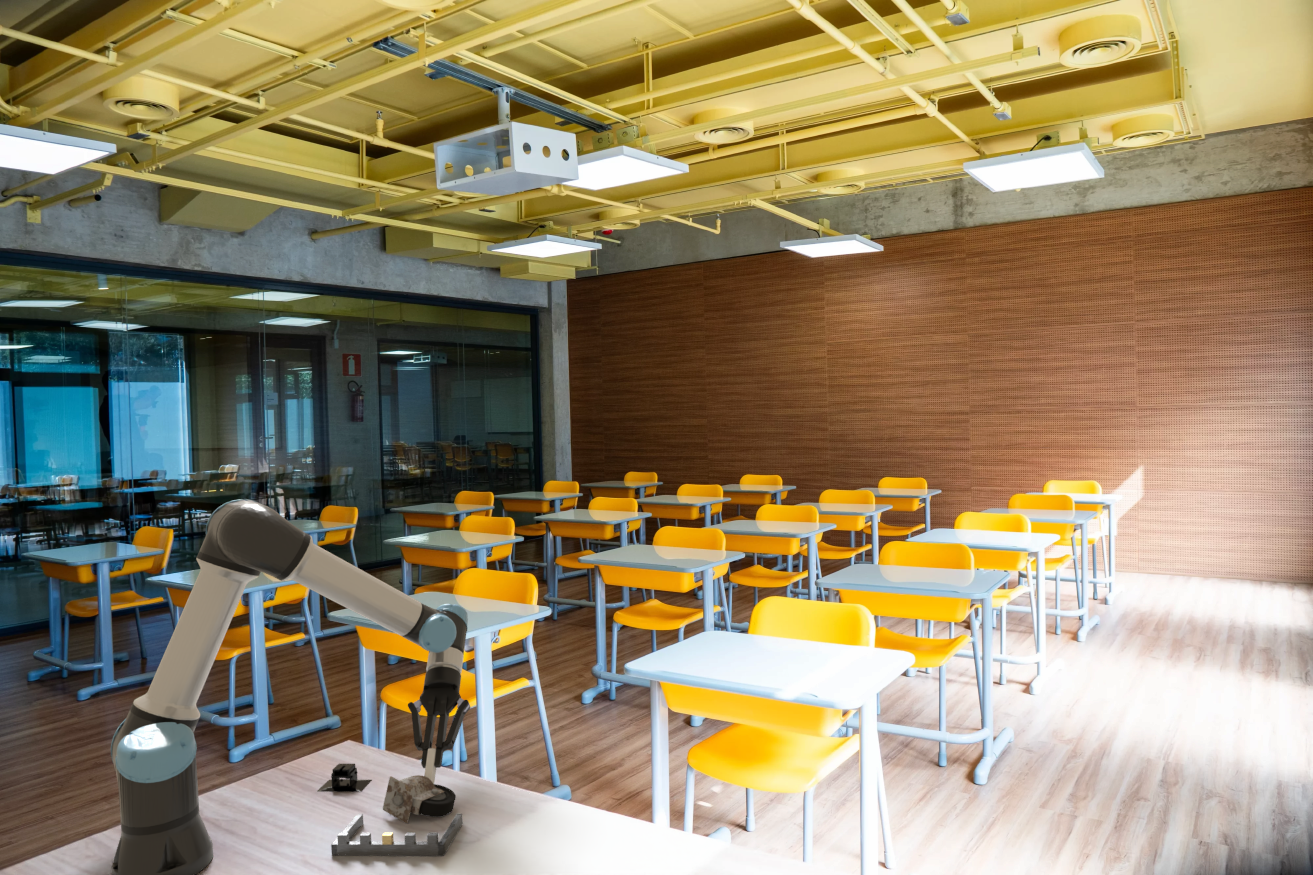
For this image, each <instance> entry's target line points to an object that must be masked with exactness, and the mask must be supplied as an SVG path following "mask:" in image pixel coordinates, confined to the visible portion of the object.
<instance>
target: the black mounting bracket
mask: <svg viewBox="0 0 1313 875" xmlns="http://www.w3.org/2000/svg"><path fill="white" fill-rule="evenodd" d="M357 768H358V767H356V763H338V764H336V766H335V767H333V769H332V772H331V776H330V778H331V779H328V780H327V781H326V782H325V783H324V784H323V785H322V786H320V788H318V790H316V792H324V793H325V792H326V793H327V792H328V793H332V792H334V793H335V792H336V793H351V792H352V793H361V792H363V791H364V790H365V789H366V787H368V786H369V784H370V783H371V782H372V781H373V779H358V769H357Z"/></svg>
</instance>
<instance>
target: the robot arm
mask: <svg viewBox="0 0 1313 875" xmlns="http://www.w3.org/2000/svg"><path fill="white" fill-rule="evenodd" d="M195 560H196V561H197V563H198V565H199V568H200V570H199V573H198V575H197V577H196V580H195V582H194V585H193V587H192V589H191V592H190V594H189V596H188V598H187V601H186V603H185V605H184V608H183V610H182V612H181V615H180V616H179V618H178V621H177V624H176V625H175V629H174V631H173V633H172V635H171V638H170V640H169V642H168V644H167V647H166V649H165V651H164V653H163V656H162V658H161V660H160V663H159V665H158V667H157V669H156V672H155V674H154V676H153V679H152V680H151V684H150V685H149V688H148V691H147V692H145V694H143V695H140V696H139V697H136V698H135V699H134V700H133V702H132V704H131V707H130V709H129V711H128V713H127V715H126V718H125V719H124V720H123V721H122V722H121V723H120V724H119V725H118V726H117V729H116V730H115V732H114V734H113V736H112V741H111V743H110V744H111V745H110V756H111V760H112V764H113V765H114V766H113V768H114V772H115V775H116V780H117V787H118V800H119V804H118V805H119V816H120V830H121V832H120V837H119V840H118V844H117V847H116V852H115V854H114V856H113V857H114V858H113V861H112V864H111V870H110V871H111V872H110V873H111V875H197V874H199V872H201V871H202V870H203V869H205V868H206V867H207V866H208V865H209V864H210V863H211V862H212V860H213V857H214V846H213V845H214V844H213V840H212V838H211V836H210V835H209V833H208V830H207V827H206V826H205V823H204V820H203V818H202V816H201V814H200V804H199V802H200V800H199V786H198V769H197V751H198V749H197V748H198V747H197V746H198V745H197V741H196V739H195V730H196V727H197V724H198V723H199V720H200V717H201V712H200V710H199V709H198V706H197V703H198V700H199V698H200V696H201V693H202V690H203V689H204V687H205V684H206V681H207V679H208V677H209V674H210V672H211V669H212V667H213V665H214V663H215V660H216V657H217V655H218V653H219V650H220V648H221V646H222V644H223V641H224V639H225V636H226V633H227V632H228V629H229V627H230V624H231V622H232V620H233V618H234V615H235V613H236V610H237V608H238V606H239V603H240V601H241V598H242V595H243V594H244V592H245V589H246V586H247V585H248V583H250V582H252V581H254V580H256V579H257V578H259V577H260V575H261V573H262V574H263V573H264V574H266V575H269V576H270V577H273V578H275V579H277V580H279V581H281V582H285V581H288V580H289V581H290V580H291V581H294V582H295V583H297V584H299V585H300V586H303V587H305V588H306V589H309V590H311V591H313V592H315V593H317V594H319V595H320V596H323V598H327V599H328V600H331V601H332V602H334V603H336V604H338V605H340V606H342V607H344V608H346V609H348V610H350V611H352V612H353V613H356V614H358V615H360V616H362V617H364V618H366V619H368V620H369V621H371V622H373V623H376V624H377V625H379V626H380V627H382V628H383V629H385V630H388V631H390V632H391V633H394V634H397V635H399V636H401V637H402V638H404V639H406V640H408V641H409V642H412V643H413V644H415V645H417V646H419V647H421V648H422V649H423V650H425V651H427V652H428V656H427V661H426V662H427V663H426V669H425V670H426V673H425V675H424V676H425V677H424V683H423V689H422V690H423V691H422V693H420V696H419V699H418V700H415V701H414V702H412V701H409V703H408V704H407V707H408V709H409V711H410V713H411V720H412V721H411V722H412V732H413V741H414V742H413V743H414V746H415V748H416V750H417V751H421V752H422V753H421V754H422V756H421V761H420V764H421V767H422V769H425V770H424V775H423V776H425V777H427V778H429V779H430V780H431V781H432V782H433V784H435V780H436V775H437V774H436V773H437V769H438V768H439V769H440V768H441V767H442V764H443V758H444V757H443V756H444V752H445V751H447V750H452V749H453V748H454V745H455V743H456V740H457V737H458V734H459V733H460V732H459V731H460V729H461V726H462V724H463V721H464V718H465V715H466V714H467V713H468V712H469V711H470V709H471V705H470V702H469V700H468V699H463V698H462V696H461V694H460V690H461V689H460V688H461V682H462V681H461V680H462V673H463V672H462V671H463V663H464V653H465V646H466V639H467V633H468V620H469V618H468V612H467V610H466V609H465V608H464V607H463V606H462V605H459V604H455V603H454V604H451V603H443V604H441V605H439V606H437V607H436V608H433V607H430V606H428V605H426V604H424V603H423V602H420V601H419V600H417V599H415V598H413V597H412V596H410V595H408V594H406V593H405V592H402V591H400V590H399V589H397V588H395V587H394V586H391V585H390V584H388V583H386V582H384V581H382V580H380V579H379V578H377V577H375V576H374V575H371V574H370V573H368V572H366V571H364V570H363V569H360V568H359V567H357V566H356V565H354V564H351V563H350V562H349V561H348V562H347V561H346V560H344V559H343V558H341V557H339V556H337V555H335V554H334V553H332V552H329V551H328V550H327V549H326V550H325V549H324V548H322V547H321V546H319V545H317V544H315V543H314V541H313V536H312V535H311V534H309V533H308V532H305V531H303V530H302V529H300V528H298V527H297V526H295V525H294V524H293V523H292V522H290V521H289V520H287V519H286V518H284V517H283V516H282V515H281V514H280V513H278V512H277V511H276V510H275V509H274V508H271V507H270V506H268V505H265V504H263V503H260V502H258V501H256V500H251V499H247V498H244V499H242V498H241V499H234V500H230V501H227V502H225V503H223V504H222V505H221V504H220V506H218V507H217V508H216V509H215V510H214V511H213V512H212V513H211V515H210V516H209V517H208V521H207V522H206V526H205V536H204V540H203V542H202V545H201V547H200V549H199V552H198V553H197V556H196V559H195ZM456 706H457V707H456ZM421 707H423V709H424V710H425V711H426V722H425V730H424V736H423V735H422V734H423V732H422V724H421V716H420V712H421V710H422V708H421ZM455 708H457V709H456V711H455V714H454V716H453V720H452V722H451V725H450V728H449V730H447V728H448V721H449V718H450V713H452V711H454V709H455ZM438 716H439V719H438V727H437V733H436V740H435V741H436V742H435V744H434V745H435V747H436V748H434V747H433V741H434V734H435V726H436V721H437V717H438ZM447 731H448V733H447Z"/></svg>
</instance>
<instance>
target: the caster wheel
mask: <svg viewBox="0 0 1313 875" xmlns="http://www.w3.org/2000/svg"><path fill="white" fill-rule="evenodd" d="M388 778H389V779H388V784H387V787H386V792H385V797H384V801H383V805H382V810H383V811H384V812H386V813H388V814H389V815H390V816H393V817H394V818H396V819H398V820H399V821H401V822H402V823H405V824H409V820H410V819H409V818H410V815H411V814H413V815H417V816H421V815H422V816H427V817H434V818H437V817H438V818H440V817H444V816H447V815H449V814H451V813H452V811H453V810H454V808H455V807H454V806H455V802H456V798H457V797H456V794H455V792H454V791H453V790H452V789H451V788H449V787H446V786H444V785H441V784H436V783H434V784H433V782H432V781H431V780H430V779H429V778H427V777H425V776H424V775H421V774H418V775H411V776H408V777H406V778H402V779H400V780H399V779H398V778H396V777H393V776H389V777H388Z"/></svg>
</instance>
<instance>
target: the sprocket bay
mask: <svg viewBox="0 0 1313 875" xmlns="http://www.w3.org/2000/svg"><path fill="white" fill-rule="evenodd" d="M463 822H464V821H463V813H456V814H455V816H454V817H453V819H452V821H451V823H450V824H449V826H448V827H447V829H446V831H445V832H444V833H443V835H442V837H441V839H440V840H439V832H428V834H427V835H426V841H417V838H416V837H417V836H416V835H417V833H416V832H406V833H405V834H404V841H395V840H394V832H383V833H382V835H381V840H382V841H372V832H361V833H360V835H359V841H355V840H353V841H351V840H352V839H353V837H354V836H355V835H356V834H357V833H358V831H359V830H360V829H361V828H362V826H363V825H364V814H363V813H357V814H356V815H355V816H354V817H353V818H352V820H351V821H350V822H348V824H347V825H346V826H345V828H344V829H343V830H342V831H341V832H338V834H337V836H336V838H335V840H333V842H331V845H330V847H331V856H335V857H336V856H337V857H340V856H341V857H343V856H345V857H346V856H348V857H351V856H352V857H353V856H355V857H357V856H359V857H360V856H362V857H363V856H365V857H366V856H367V857H368V856H369V857H374V856H375V857H376V856H377V857H380V856H381V857H383V856H385V857H387V856H388V857H393V856H394V857H399V856H400V857H403V856H404V857H419V856H420V857H444V856H445V855H446V853H447V852H448V850H449V848H450V846H451V844H452V843H453V842H454V839H455V838H456V836H457V835H458V833H459V831H460V830H461V827H462V826H463V825H462V824H464V823H463Z"/></svg>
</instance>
